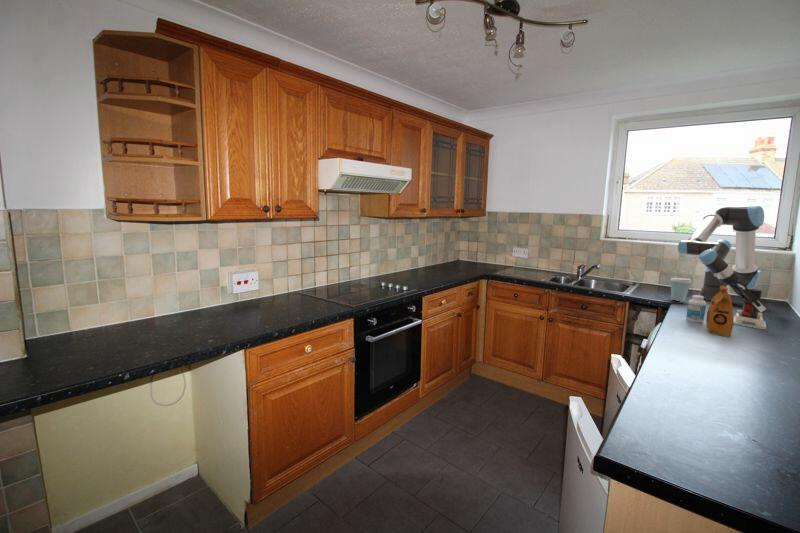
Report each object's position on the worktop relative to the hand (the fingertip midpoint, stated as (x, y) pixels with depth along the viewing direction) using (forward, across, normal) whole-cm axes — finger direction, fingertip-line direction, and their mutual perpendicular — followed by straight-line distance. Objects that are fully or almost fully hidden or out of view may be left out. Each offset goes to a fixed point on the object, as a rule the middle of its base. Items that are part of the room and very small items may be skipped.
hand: (759, 308), depth 196 cm
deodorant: (+1, 0, -6) cm, 7 cm away
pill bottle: (-15, +6, -27) cm, 31 cm away
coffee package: (-13, +24, -25) cm, 37 cm away
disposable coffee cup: (-9, -42, -20) cm, 47 cm away
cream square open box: (+3, +1, -9) cm, 9 cm away
